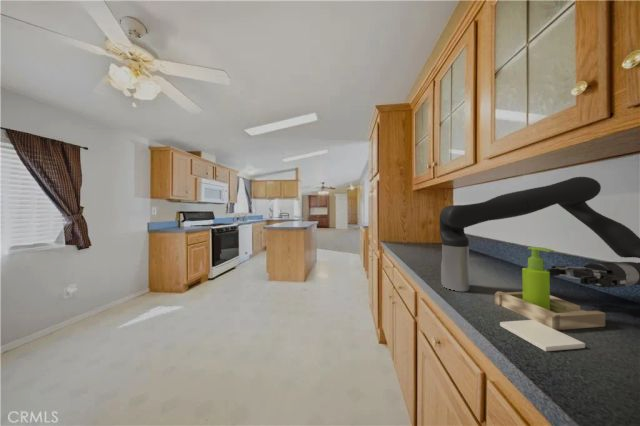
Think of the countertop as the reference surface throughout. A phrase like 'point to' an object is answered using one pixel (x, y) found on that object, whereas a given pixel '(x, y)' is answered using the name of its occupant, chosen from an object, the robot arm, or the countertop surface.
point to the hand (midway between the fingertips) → (564, 276)
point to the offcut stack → (563, 306)
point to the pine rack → (549, 313)
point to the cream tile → (542, 335)
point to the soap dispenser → (536, 280)
